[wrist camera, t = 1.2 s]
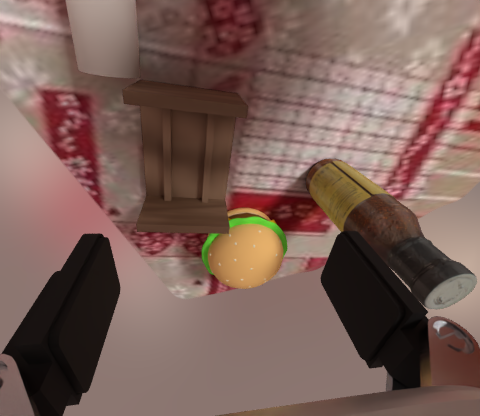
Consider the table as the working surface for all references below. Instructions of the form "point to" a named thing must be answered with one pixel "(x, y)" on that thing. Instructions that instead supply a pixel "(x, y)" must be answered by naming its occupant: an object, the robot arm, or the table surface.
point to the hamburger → (245, 249)
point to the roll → (105, 37)
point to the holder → (185, 155)
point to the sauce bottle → (389, 233)
